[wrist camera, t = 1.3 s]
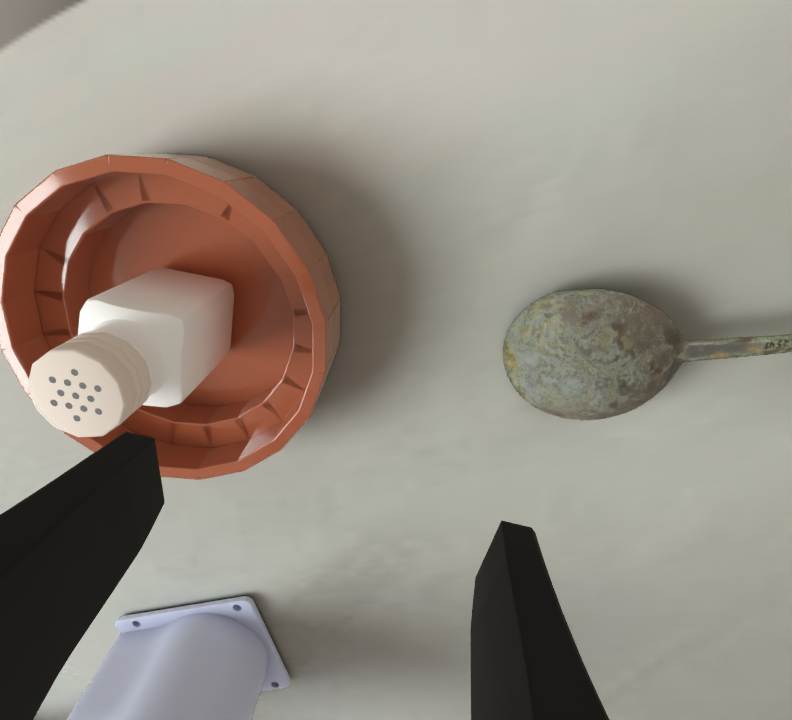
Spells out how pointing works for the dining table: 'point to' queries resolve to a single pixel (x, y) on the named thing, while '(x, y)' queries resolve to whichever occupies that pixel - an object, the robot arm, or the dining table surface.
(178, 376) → the pepper shaker
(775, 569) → the dining table surface
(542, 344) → the soupspoon
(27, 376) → the clay bowl
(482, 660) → the robot arm
